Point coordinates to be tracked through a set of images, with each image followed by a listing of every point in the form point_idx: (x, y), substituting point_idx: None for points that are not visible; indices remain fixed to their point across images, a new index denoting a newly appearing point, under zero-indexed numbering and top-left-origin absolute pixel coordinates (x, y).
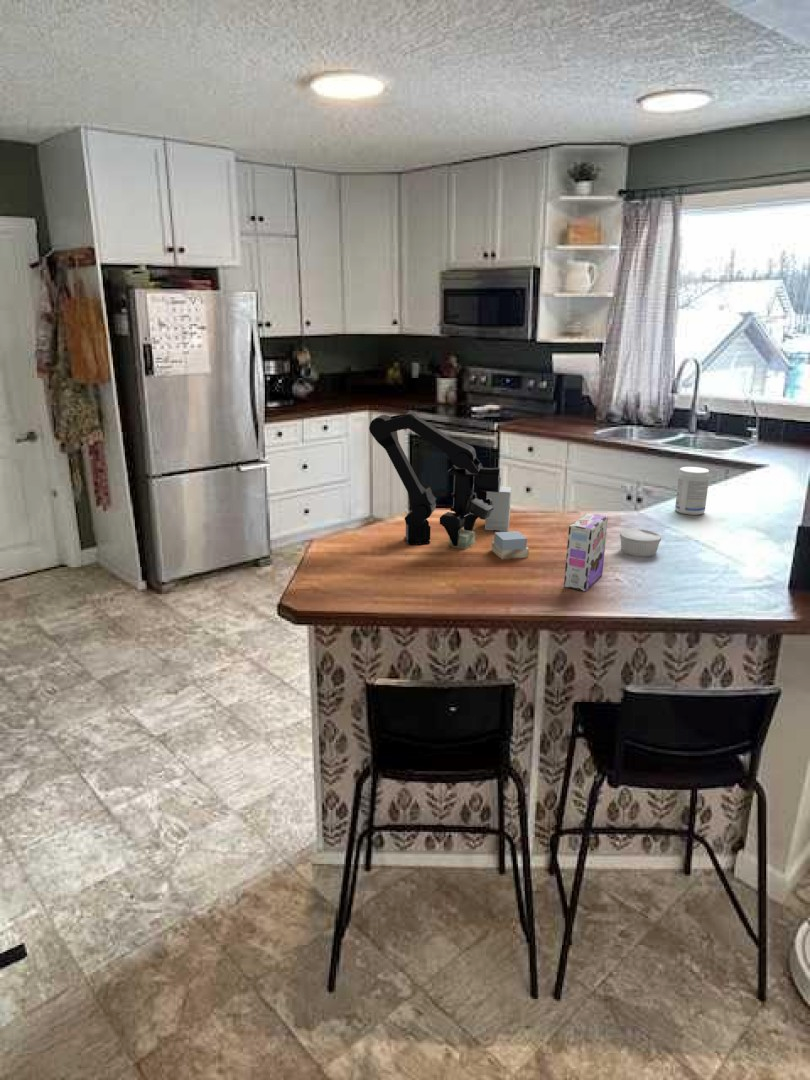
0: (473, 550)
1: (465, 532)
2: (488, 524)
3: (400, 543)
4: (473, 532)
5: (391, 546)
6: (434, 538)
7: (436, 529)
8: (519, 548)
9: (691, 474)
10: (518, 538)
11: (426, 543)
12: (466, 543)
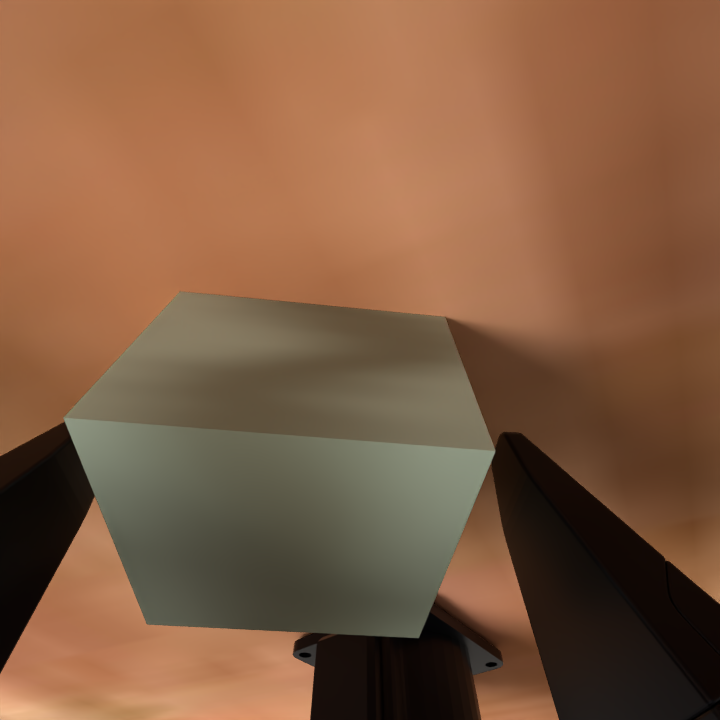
0: (454, 203)
1: (246, 526)
2: None
3: (477, 675)
4: (133, 427)
5: (547, 685)
6: None
7: (82, 634)
8: None
9: None
10: None
11: (437, 607)
12: (446, 361)
